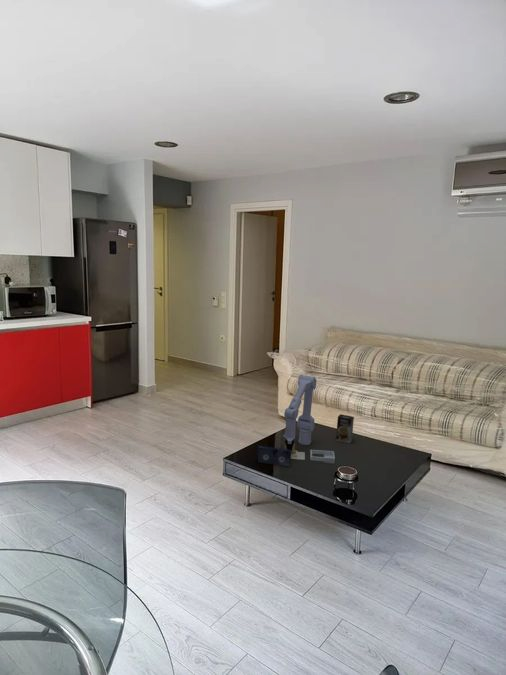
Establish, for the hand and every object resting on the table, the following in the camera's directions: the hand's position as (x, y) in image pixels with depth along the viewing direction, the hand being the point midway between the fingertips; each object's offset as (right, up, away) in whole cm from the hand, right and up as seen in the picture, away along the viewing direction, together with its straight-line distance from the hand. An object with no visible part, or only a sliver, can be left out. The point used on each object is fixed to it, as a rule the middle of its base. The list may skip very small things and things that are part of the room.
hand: (289, 450), depth 262 cm
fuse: (0, -2, 0) cm, 2 cm away
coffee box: (+37, 0, +26) cm, 45 cm away
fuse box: (0, -3, +1) cm, 3 cm away
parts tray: (+19, -4, -1) cm, 19 cm away
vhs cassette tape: (-10, -5, -11) cm, 16 cm away
